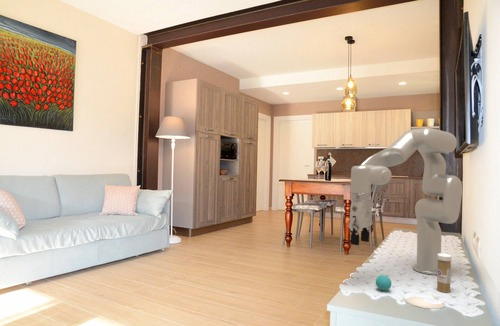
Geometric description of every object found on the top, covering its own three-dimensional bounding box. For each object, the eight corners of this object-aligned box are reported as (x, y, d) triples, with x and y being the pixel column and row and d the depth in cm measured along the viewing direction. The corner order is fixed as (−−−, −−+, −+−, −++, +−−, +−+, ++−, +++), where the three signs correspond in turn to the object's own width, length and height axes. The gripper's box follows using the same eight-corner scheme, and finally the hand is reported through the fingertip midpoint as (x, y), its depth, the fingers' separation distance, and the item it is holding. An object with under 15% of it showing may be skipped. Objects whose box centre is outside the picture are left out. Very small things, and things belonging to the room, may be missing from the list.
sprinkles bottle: (434, 289, 132) (434, 253, 132) (441, 287, 134) (442, 252, 134) (445, 293, 128) (446, 256, 128) (453, 291, 130) (454, 255, 130)
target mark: (410, 291, 130) (410, 290, 130) (450, 301, 121) (450, 300, 121) (396, 300, 121) (396, 300, 121) (438, 312, 112) (438, 311, 112)
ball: (379, 286, 134) (379, 272, 134) (393, 290, 131) (394, 275, 131) (372, 290, 130) (373, 275, 130) (387, 294, 127) (387, 278, 127)
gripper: (359, 200, 128) (358, 248, 128) (379, 197, 141) (379, 241, 141) (340, 198, 133) (339, 244, 133) (362, 195, 146) (361, 238, 146)
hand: (360, 242), depth 137 cm, fingers open, 7 cm apart
